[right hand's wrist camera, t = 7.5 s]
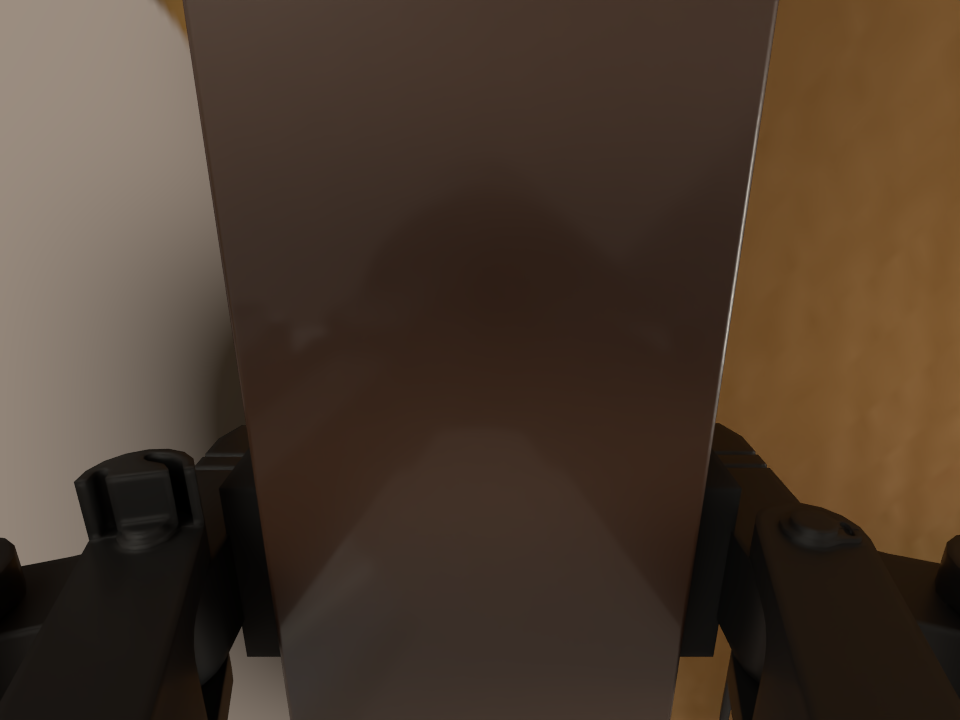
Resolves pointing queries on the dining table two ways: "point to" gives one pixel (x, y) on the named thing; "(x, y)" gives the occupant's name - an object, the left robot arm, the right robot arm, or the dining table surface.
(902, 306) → the dining table surface
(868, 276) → the dining table surface
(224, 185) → the walnut beam
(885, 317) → the dining table surface
